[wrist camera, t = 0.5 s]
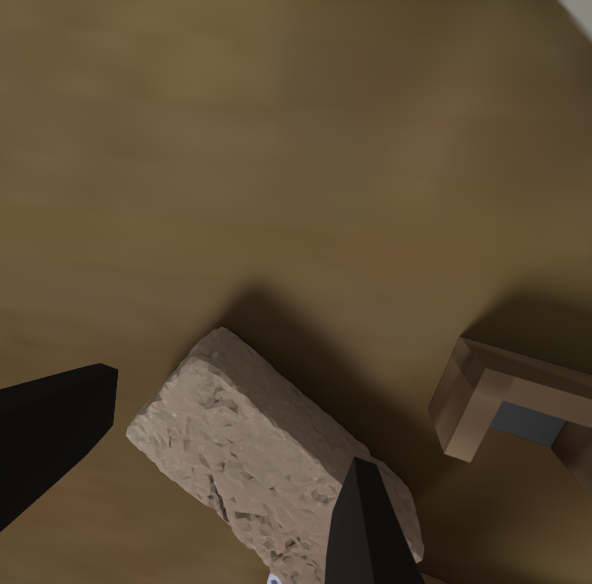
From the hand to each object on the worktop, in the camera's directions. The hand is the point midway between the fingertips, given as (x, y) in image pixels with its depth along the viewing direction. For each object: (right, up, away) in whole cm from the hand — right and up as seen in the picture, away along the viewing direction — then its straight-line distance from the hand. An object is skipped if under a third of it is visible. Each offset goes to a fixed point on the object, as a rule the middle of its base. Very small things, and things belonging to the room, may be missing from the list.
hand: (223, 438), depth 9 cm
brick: (+1, -6, +12) cm, 13 cm away
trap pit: (+14, -2, +8) cm, 16 cm away
